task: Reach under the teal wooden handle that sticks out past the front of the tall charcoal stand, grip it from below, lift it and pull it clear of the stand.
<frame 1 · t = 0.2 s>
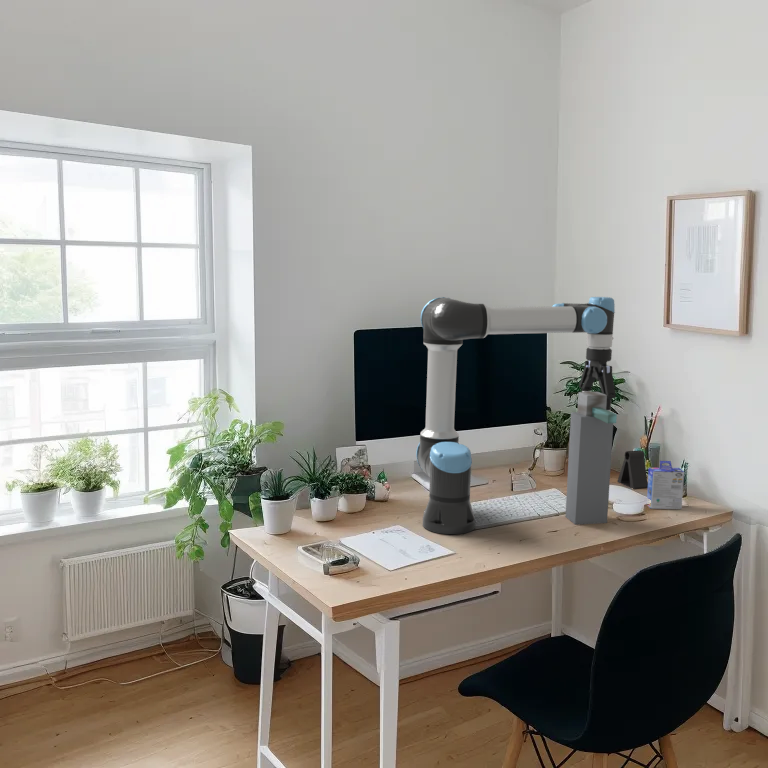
hand: (595, 415, 243), 29 cm above the table, tool pointing down, fingers open, 13 cm apart
ink cartridge box: (663, 507, 246), on the table
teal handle: (599, 417, 223), point 32 cm above the table, touching charcoal stand
charcoal stand: (586, 519, 233), on the table
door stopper: (632, 485, 270), on the table
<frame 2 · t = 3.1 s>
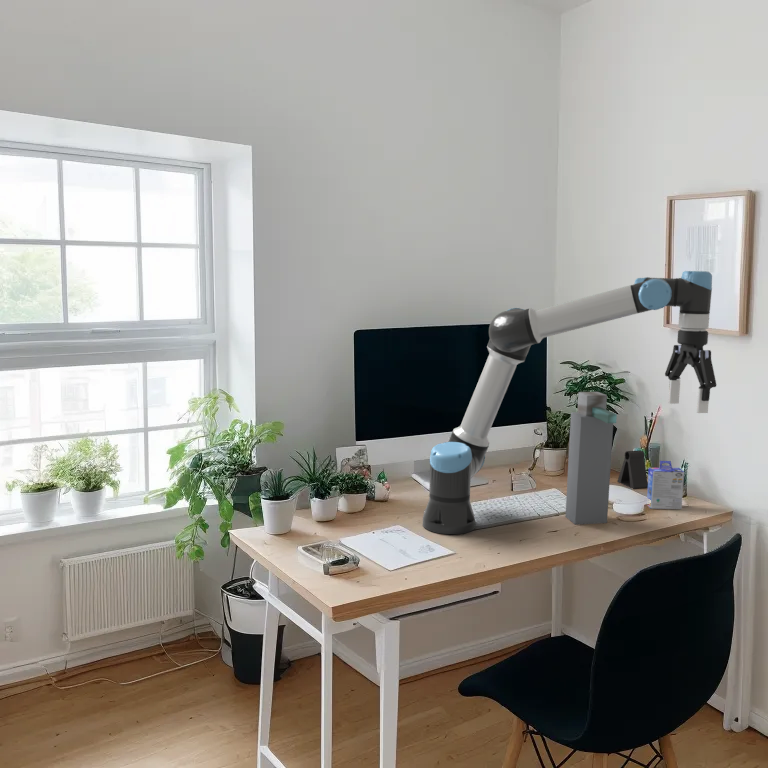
hand: (687, 408, 212), 37 cm above the table, tool pointing down, fingers open, 13 cm apart
nothing on the table moved.
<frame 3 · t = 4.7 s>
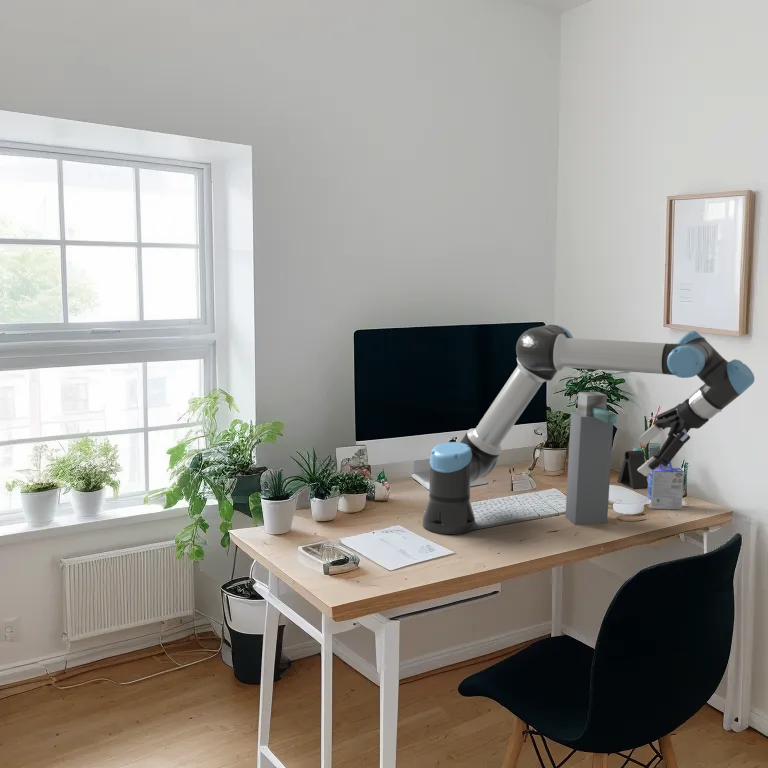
hand: (641, 456, 212), 24 cm above the table, tool tilted 45°, fingers open, 13 cm apart
nothing on the table moved.
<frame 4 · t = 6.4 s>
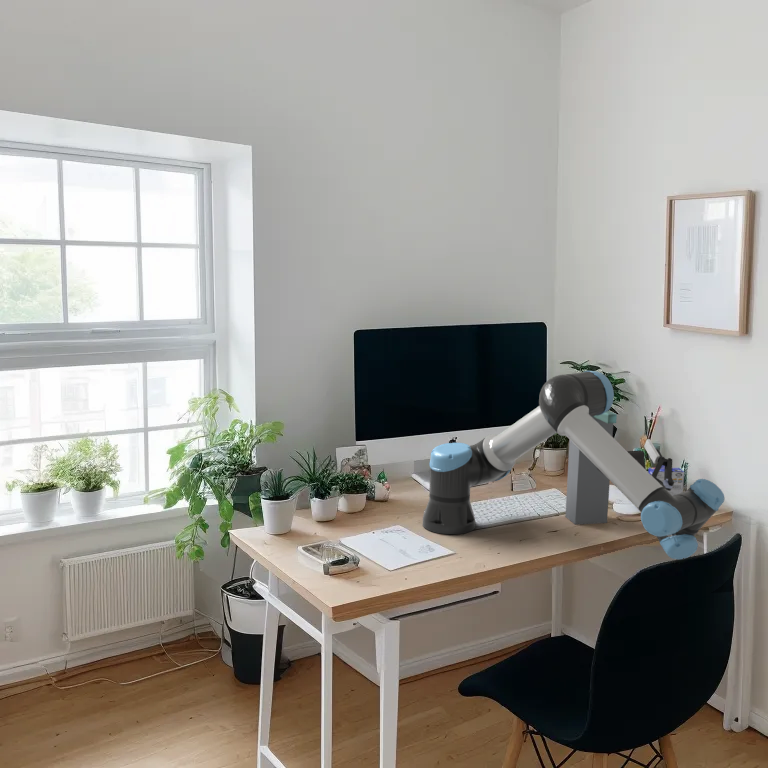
hand: (623, 443, 209), 28 cm above the table, tool pointing upward, fingers open, 13 cm apart
nothing on the table moved.
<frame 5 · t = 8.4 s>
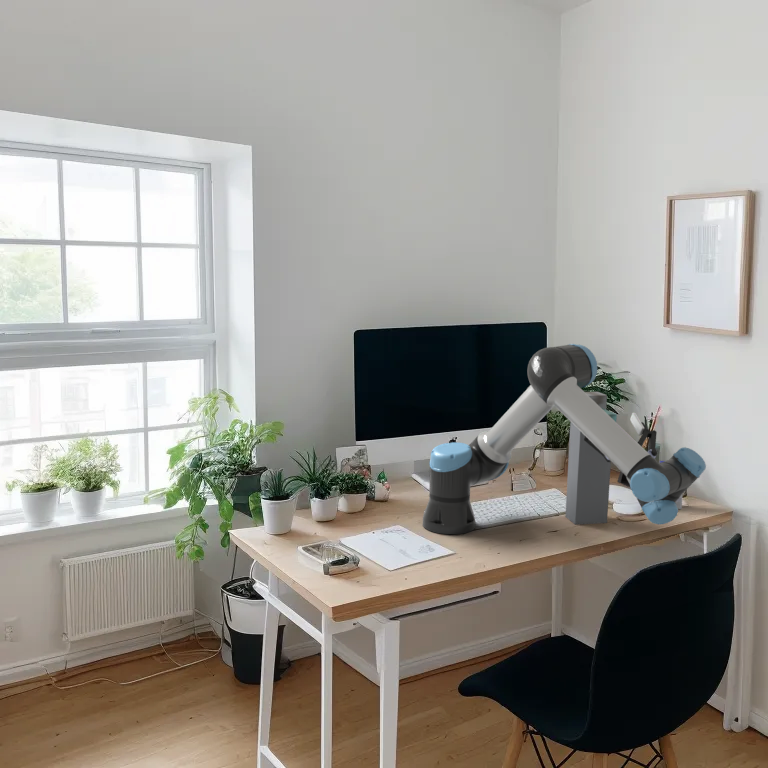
hand: (609, 416, 217), 33 cm above the table, tool pointing upward, fingers open, 13 cm apart
nothing on the table moved.
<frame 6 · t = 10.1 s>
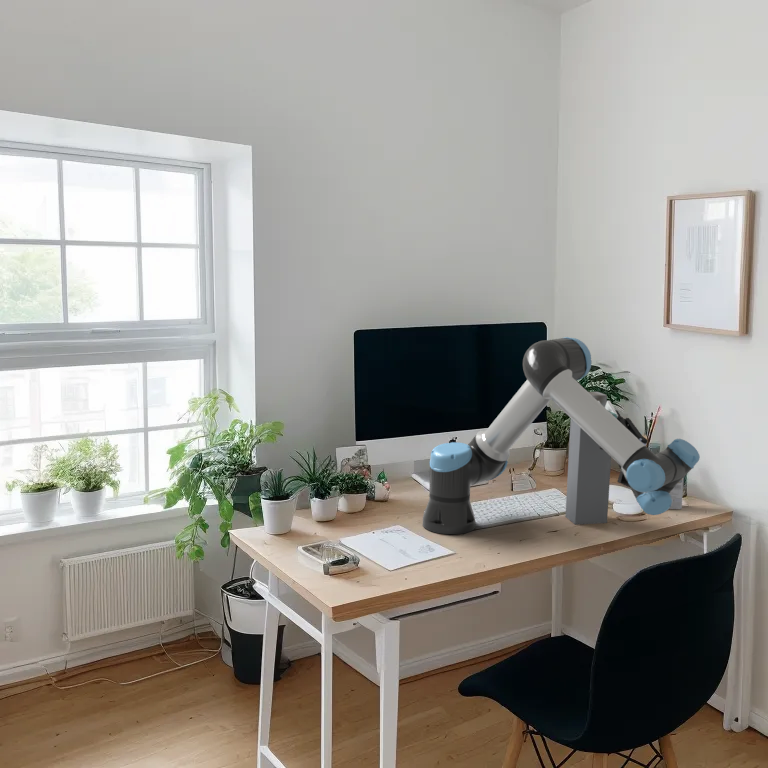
hand: (601, 404, 221), 36 cm above the table, tool pointing upward, fingers closed on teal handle, 2 cm apart
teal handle: (599, 417, 223), point 32 cm above the table, touching charcoal stand, gripper
everything else where it was.
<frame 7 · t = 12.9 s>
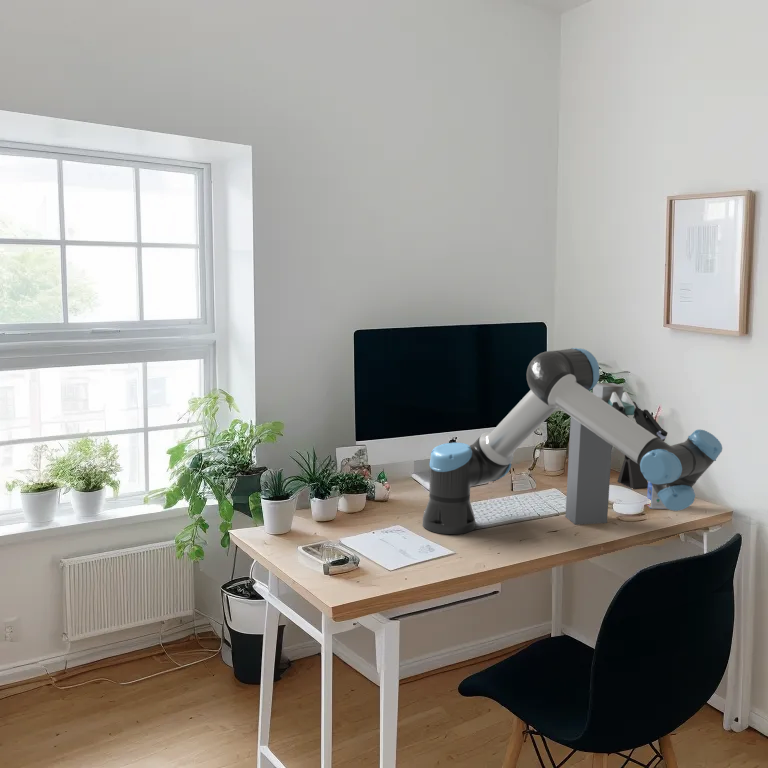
hand: (618, 395, 212), 40 cm above the table, tool pointing upward, fingers closed on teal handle, 2 cm apart
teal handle: (615, 409, 213), point 36 cm above the table, touching gripper
everything else where it was.
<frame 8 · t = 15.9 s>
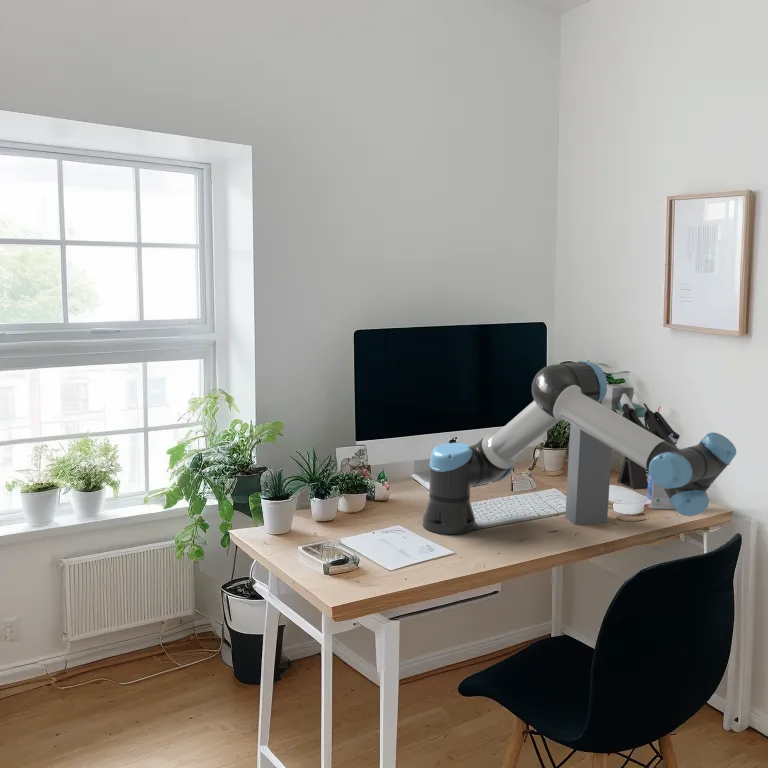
hand: (628, 397, 206), 41 cm above the table, tool pointing upward, fingers closed on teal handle, 2 cm apart
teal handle: (625, 411, 208), point 37 cm above the table, touching gripper
everything else where it was.
at the end: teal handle inside the target area (0.3 cm from its centre), point 36.7 cm above the table; the gripper is holding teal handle; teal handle touching gripper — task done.
